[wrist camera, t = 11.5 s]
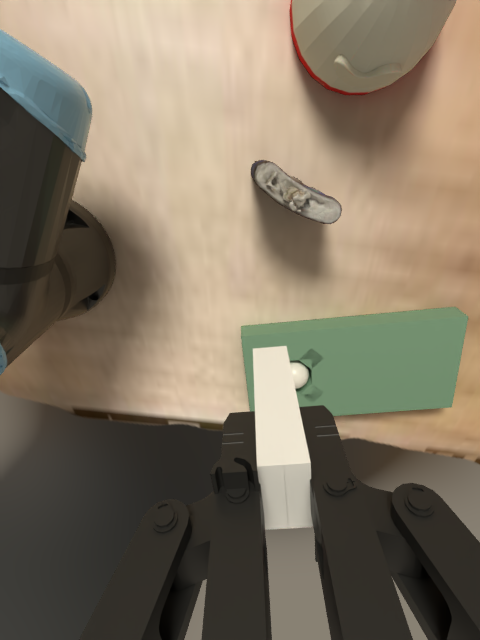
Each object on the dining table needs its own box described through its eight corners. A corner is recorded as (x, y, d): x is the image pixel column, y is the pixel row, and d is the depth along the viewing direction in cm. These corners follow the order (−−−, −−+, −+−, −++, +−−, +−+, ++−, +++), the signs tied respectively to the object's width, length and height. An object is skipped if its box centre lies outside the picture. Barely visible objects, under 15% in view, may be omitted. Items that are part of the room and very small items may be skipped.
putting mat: (251, 408, 54) (251, 422, 51) (241, 326, 48) (241, 336, 45) (441, 393, 52) (451, 407, 50) (455, 306, 46) (468, 316, 44)
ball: (278, 379, 52) (282, 396, 48) (276, 355, 50) (281, 371, 46) (305, 375, 52) (312, 392, 48) (304, 352, 50) (311, 367, 46)
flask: (328, 195, 41) (353, 209, 31) (314, 218, 42) (333, 239, 32) (257, 153, 39) (260, 155, 29) (244, 179, 40) (243, 188, 31)
